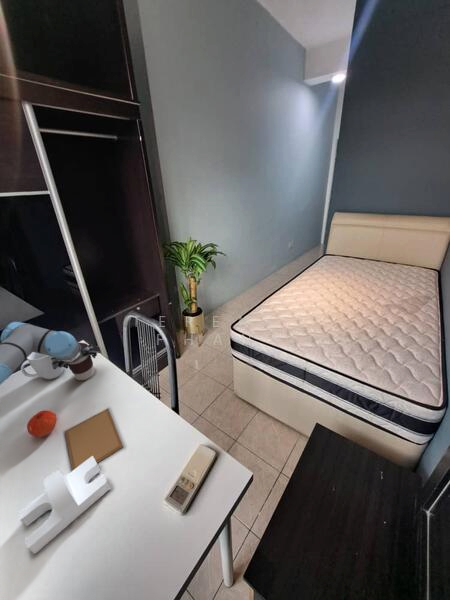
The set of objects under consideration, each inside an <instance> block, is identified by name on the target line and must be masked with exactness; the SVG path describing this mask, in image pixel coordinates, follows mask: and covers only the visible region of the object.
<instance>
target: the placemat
mask: <svg viewBox="0 0 450 600" xmlns="http://www.w3.org/2000/svg"><path fill="white" fill-rule="evenodd" d="M64 433H65V434H64V435H65V439H66V444H67V449H68V454H69V459H70V464H71V470H72V471H73V470H74V469H75V468H77V467H78V466H79V465H81V464H82V463H83V462H85V461H86V460H87V459H89V458H90V457H91V456H93V457H94V459H95V461H96V463H97V464H99V463H100V462H102V461H103V460H105V459H106V458H107V459H108V457H110V456H112V455H113V454H115V453H116V452H118V451H120V450H121V449H123V448H124V445H123V443H122V440H121V438H120V436H119V432H118V430H117V428H116V424H115V423H114V420H113V417H112V415H111V413H110V410H109V408H106V409H103V410H102V411H100V412H98V413H97V414H95V415H93V416H91V417H89V418H87V419H85V420H84V421H81V422H80V423H78V424H76V425H74V426H72V427H70V428H68V429H67V430H64Z"/></svg>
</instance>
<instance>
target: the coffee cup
mask: <svg viewBox="0 0 450 600" xmlns="http://www.w3.org/2000/svg"><path fill="white" fill-rule="evenodd" d="M77 342H78V343H79V344H80V345H81V346H82V347H84V348H87V346H88V345H89V344H87V343H84V342H79V341H77ZM92 358H93V357H92V355H88V356H84V357H81V359H80V360H78V361H77V362H75V363H67V365H68V367H69V368H68V369H69V370H70V371H71V373H72V374H73V375H74V377H75V378H76V380H78V381H85V380H88V379H90V378H91V377H92V376H94V374H95V367H94V362H93V359H92Z"/></svg>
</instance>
